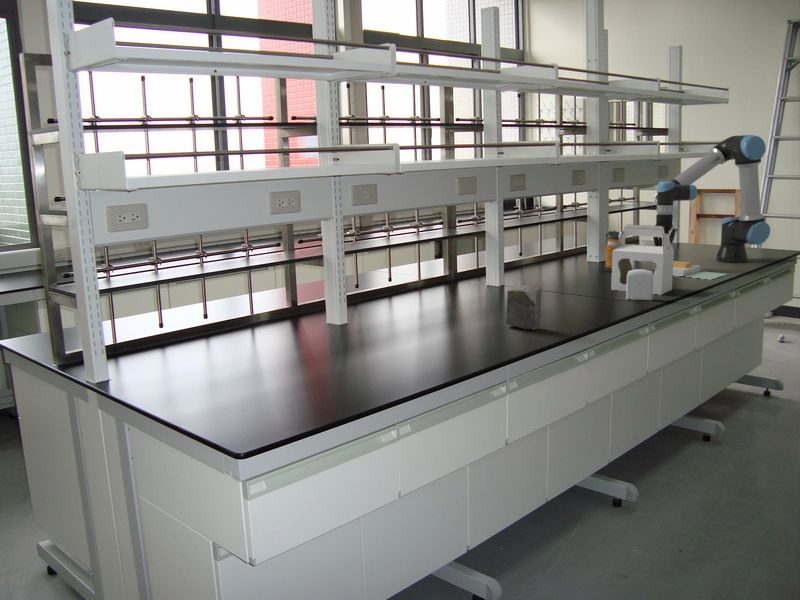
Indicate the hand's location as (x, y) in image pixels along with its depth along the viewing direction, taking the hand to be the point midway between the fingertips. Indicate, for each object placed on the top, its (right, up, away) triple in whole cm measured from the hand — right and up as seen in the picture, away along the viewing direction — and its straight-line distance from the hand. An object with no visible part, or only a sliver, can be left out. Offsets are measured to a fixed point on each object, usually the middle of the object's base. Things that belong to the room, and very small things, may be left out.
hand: (662, 261), depth 359 cm
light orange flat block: (+6, -3, -6) cm, 9 cm away
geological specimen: (-86, -29, -104) cm, 138 cm away
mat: (+15, -8, -16) cm, 23 cm away
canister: (-23, -5, +3) cm, 24 cm away
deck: (+5, -6, -6) cm, 10 cm away
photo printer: (-32, -19, -63) cm, 73 cm away
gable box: (-25, -15, -44) cm, 53 cm away
